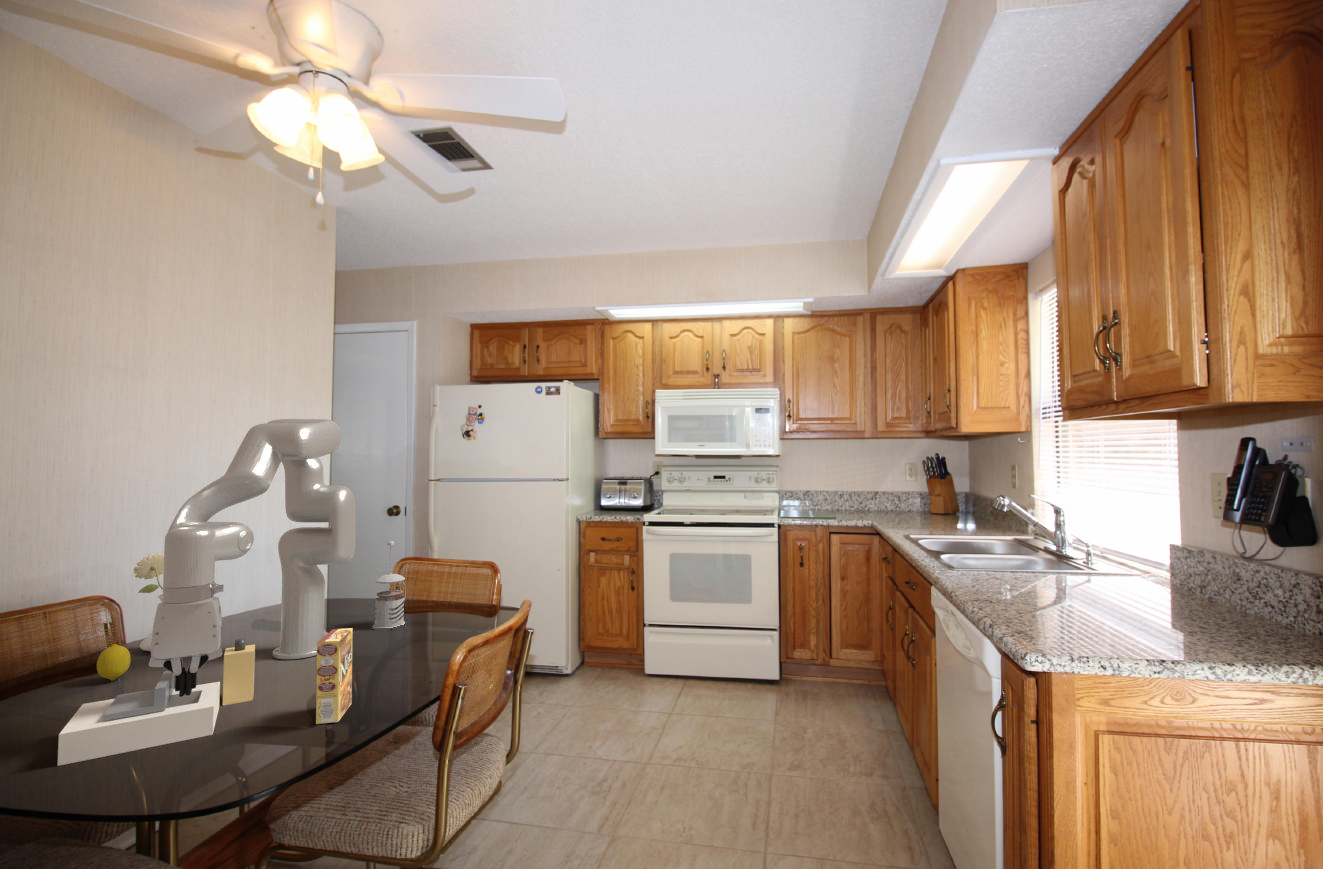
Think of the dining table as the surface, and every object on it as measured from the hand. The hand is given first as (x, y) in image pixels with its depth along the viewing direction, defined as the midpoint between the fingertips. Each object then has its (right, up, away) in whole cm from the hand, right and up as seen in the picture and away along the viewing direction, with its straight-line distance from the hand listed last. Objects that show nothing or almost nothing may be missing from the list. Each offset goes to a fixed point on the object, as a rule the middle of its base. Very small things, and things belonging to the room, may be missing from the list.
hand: (185, 693), depth 110 cm
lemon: (-34, -7, +22) cm, 41 cm away
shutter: (-5, -1, -3) cm, 6 cm away
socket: (-4, -6, -3) cm, 8 cm away
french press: (+8, -9, +66) cm, 67 cm away
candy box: (+25, -7, +5) cm, 26 cm away
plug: (+1, -7, +12) cm, 14 cm away
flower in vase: (-41, -8, +44) cm, 60 cm away
